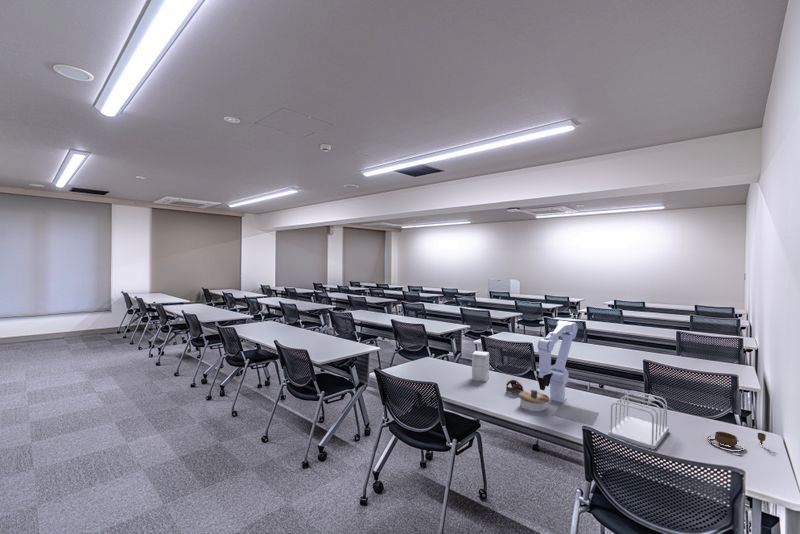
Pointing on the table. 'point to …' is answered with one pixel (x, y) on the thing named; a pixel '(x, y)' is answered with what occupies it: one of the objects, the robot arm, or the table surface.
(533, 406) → the grey bowl
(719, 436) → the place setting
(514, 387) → the brown dome
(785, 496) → the table surface
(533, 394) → the walnut lid
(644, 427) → the file sorter
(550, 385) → the robot arm
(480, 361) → the supplement box
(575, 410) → the grey square pad
